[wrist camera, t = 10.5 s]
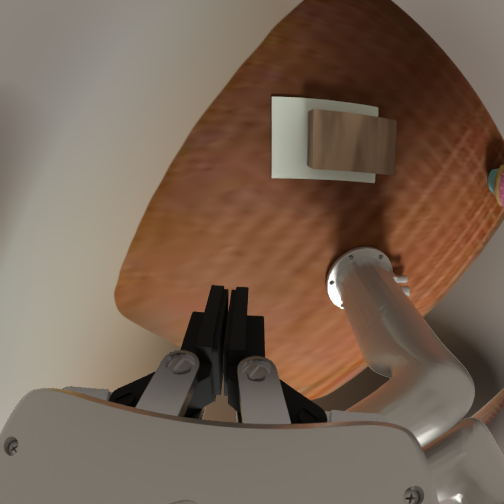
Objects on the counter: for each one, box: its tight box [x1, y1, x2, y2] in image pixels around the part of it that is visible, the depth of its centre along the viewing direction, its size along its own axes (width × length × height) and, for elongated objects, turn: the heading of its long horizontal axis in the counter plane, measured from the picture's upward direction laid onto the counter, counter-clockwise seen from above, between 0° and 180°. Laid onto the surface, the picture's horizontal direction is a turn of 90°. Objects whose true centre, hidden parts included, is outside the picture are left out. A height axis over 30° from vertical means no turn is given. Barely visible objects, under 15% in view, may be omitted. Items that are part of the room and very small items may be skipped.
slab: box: [307, 109, 397, 176], centre depth 33 cm, size 4×8×12 cm
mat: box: [272, 97, 378, 183], centre depth 35 cm, size 16×12×1 cm
